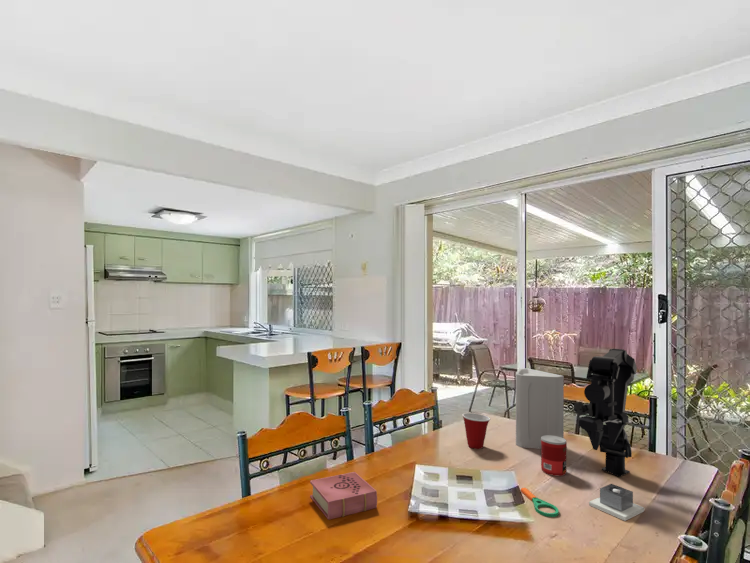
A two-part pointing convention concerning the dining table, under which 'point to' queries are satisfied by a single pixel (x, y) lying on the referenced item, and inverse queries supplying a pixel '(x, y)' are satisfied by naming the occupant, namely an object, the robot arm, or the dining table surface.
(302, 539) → the dining table surface
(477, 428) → the plastic cup
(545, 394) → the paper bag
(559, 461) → the canned food
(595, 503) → the post block
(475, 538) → the dining table surface
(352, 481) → the book
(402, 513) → the dining table surface
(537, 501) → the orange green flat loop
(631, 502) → the square hole block
